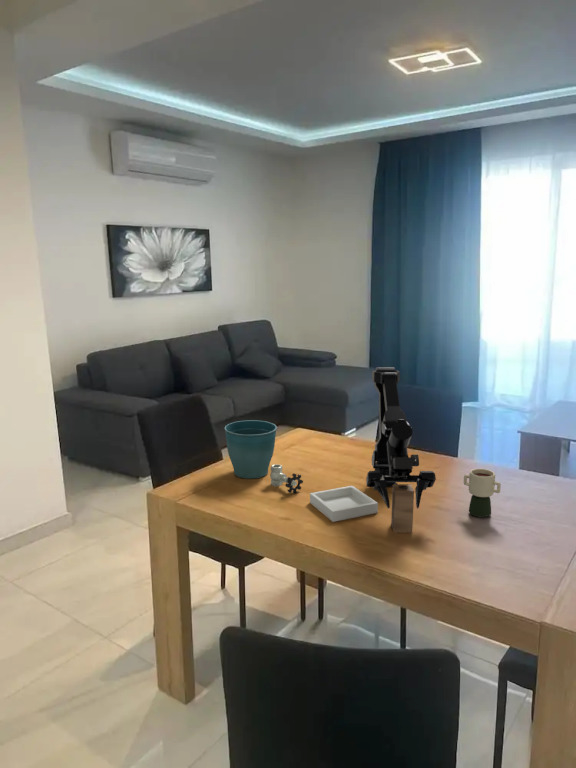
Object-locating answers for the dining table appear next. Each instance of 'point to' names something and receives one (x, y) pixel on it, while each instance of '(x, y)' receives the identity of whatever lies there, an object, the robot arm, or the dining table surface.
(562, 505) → the dining table surface
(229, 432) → the flower pot
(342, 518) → the tray
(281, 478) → the valve
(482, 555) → the dining table surface
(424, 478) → the robot arm
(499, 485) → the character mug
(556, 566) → the dining table surface
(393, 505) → the walnut block
